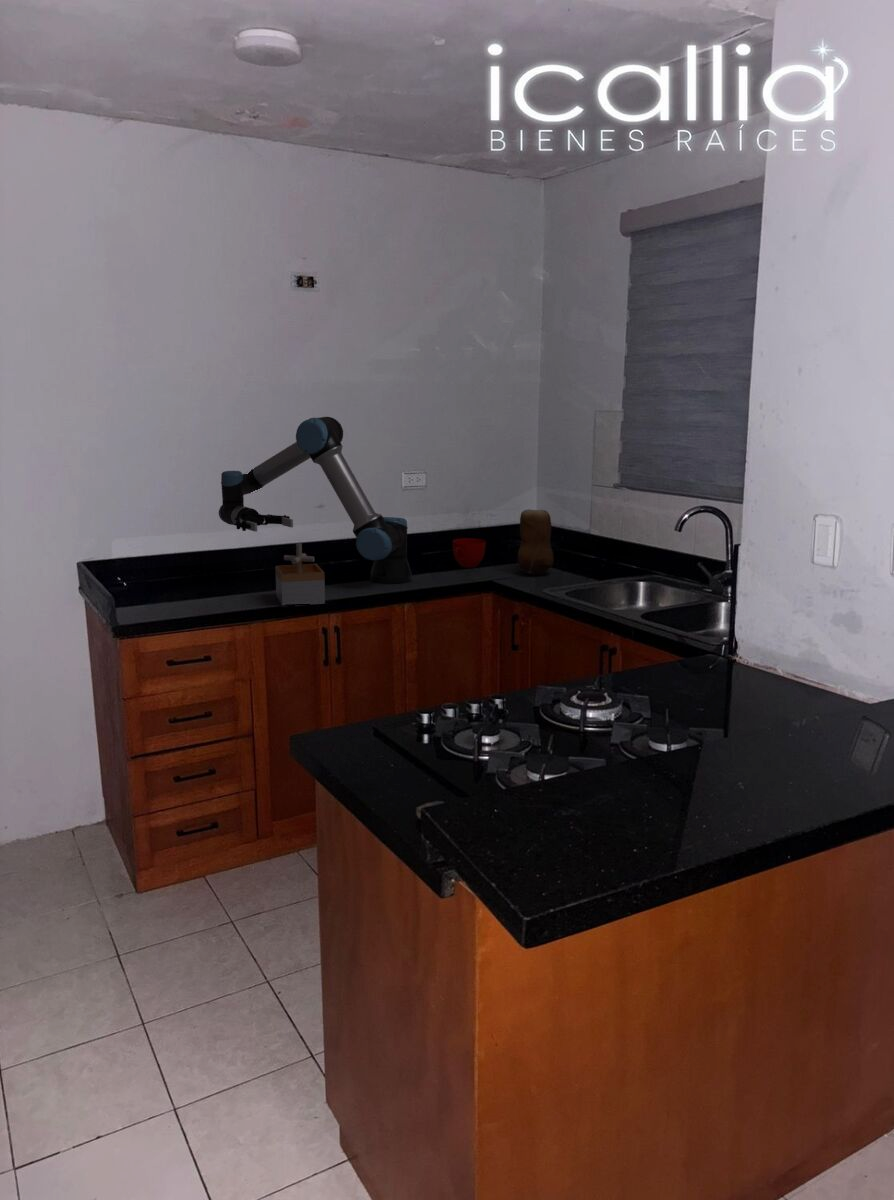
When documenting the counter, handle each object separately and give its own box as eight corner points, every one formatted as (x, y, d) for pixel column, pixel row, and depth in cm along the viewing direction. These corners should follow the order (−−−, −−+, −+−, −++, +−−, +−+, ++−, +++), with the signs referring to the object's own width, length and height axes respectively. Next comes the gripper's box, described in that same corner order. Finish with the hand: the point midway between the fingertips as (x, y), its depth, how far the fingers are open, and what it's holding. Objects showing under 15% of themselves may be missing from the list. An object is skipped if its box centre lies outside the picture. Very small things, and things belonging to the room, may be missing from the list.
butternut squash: (532, 569, 366) (535, 505, 360) (559, 574, 357) (562, 509, 351) (509, 574, 356) (511, 508, 350) (536, 580, 347) (539, 513, 341)
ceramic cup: (440, 568, 364) (440, 543, 362) (462, 561, 378) (463, 537, 376) (469, 572, 358) (469, 547, 355) (491, 565, 372) (491, 540, 369)
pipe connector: (309, 577, 306) (308, 547, 303) (279, 575, 307) (279, 545, 305) (318, 571, 315) (318, 541, 313) (290, 569, 317) (289, 540, 314)
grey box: (317, 593, 322) (316, 563, 319) (324, 603, 309) (324, 572, 306) (276, 596, 318) (275, 565, 315) (282, 606, 305) (281, 574, 302)
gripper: (277, 524, 343) (306, 532, 327) (213, 531, 328) (241, 540, 312) (276, 504, 341) (306, 511, 325) (212, 510, 326) (240, 518, 310)
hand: (274, 525), depth 318 cm, fingers open, 13 cm apart
